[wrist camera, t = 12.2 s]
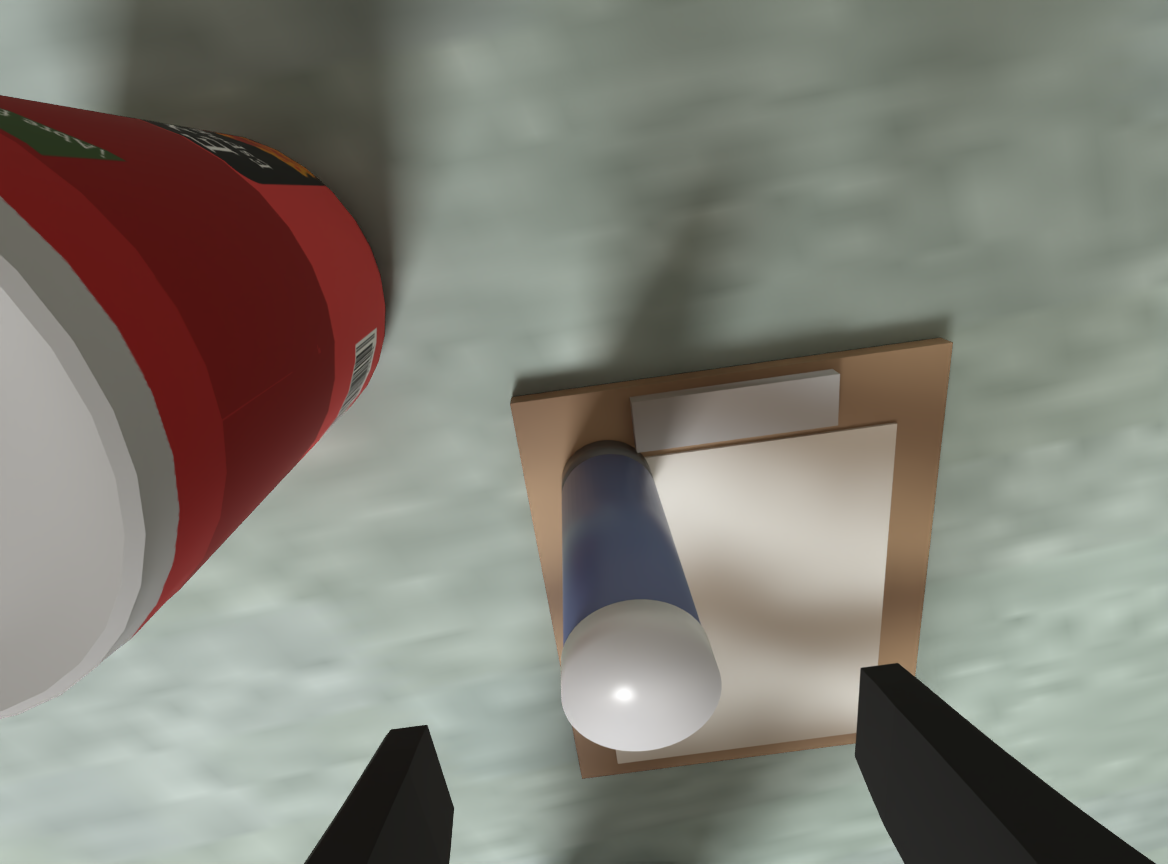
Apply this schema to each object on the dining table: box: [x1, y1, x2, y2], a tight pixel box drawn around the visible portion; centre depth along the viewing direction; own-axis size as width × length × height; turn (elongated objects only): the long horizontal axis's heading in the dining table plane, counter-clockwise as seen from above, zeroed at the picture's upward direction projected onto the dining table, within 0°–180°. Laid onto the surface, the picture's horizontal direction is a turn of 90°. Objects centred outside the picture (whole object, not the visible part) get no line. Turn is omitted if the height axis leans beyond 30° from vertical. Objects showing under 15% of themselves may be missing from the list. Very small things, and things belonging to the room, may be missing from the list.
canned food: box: [0, 95, 385, 719], centre depth 11 cm, size 8×8×11 cm
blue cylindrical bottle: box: [561, 440, 722, 751], centre depth 14 cm, size 3×3×8 cm
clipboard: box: [510, 338, 953, 779], centre depth 20 cm, size 16×13×1 cm
